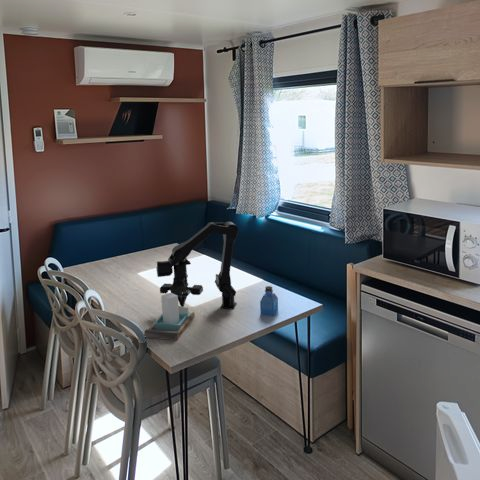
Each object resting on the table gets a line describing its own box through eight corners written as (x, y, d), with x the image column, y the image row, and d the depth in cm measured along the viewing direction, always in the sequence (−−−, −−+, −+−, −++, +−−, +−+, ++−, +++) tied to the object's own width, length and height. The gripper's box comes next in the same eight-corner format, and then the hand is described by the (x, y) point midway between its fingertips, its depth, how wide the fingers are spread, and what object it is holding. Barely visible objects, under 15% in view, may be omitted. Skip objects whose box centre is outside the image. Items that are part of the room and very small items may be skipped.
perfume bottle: (260, 314, 226) (259, 289, 223) (265, 309, 232) (264, 284, 229) (273, 316, 224) (273, 290, 221) (278, 310, 229) (277, 285, 226)
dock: (165, 314, 229) (164, 308, 228) (194, 316, 226) (194, 310, 225) (144, 337, 207) (144, 331, 206) (177, 340, 204) (177, 333, 203)
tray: (168, 313, 229) (167, 305, 228) (192, 314, 227) (191, 307, 226) (154, 329, 213) (153, 321, 212) (179, 331, 211) (179, 322, 210)
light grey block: (163, 323, 217) (161, 295, 214) (173, 319, 220) (171, 292, 217) (169, 326, 213) (167, 298, 210) (179, 323, 217) (177, 295, 213)
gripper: (154, 279, 221) (156, 312, 225) (195, 281, 217) (197, 315, 221) (163, 271, 232) (165, 303, 236) (202, 272, 228) (204, 305, 232)
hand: (182, 306), depth 231 cm, fingers closed
